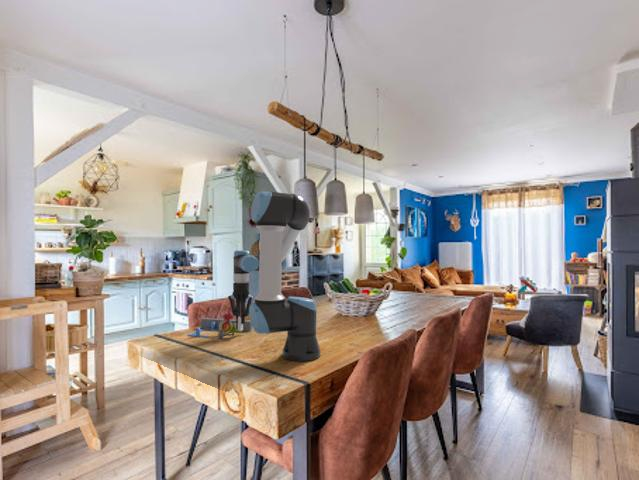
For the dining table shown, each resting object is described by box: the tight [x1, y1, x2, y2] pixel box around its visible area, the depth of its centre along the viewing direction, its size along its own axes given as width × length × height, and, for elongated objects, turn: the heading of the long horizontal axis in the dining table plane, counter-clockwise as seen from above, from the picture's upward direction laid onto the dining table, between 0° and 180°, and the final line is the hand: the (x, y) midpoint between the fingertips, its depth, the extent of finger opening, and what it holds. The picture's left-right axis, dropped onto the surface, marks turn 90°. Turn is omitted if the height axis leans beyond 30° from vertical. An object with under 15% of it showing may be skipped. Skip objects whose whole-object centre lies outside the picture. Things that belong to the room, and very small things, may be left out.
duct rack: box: [187, 317, 253, 340], centre depth 175 cm, size 18×28×5 cm, turn 77°
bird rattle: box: [219, 312, 239, 337], centre depth 172 cm, size 6×11×9 cm
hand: (240, 330), depth 171 cm, fingers closed
